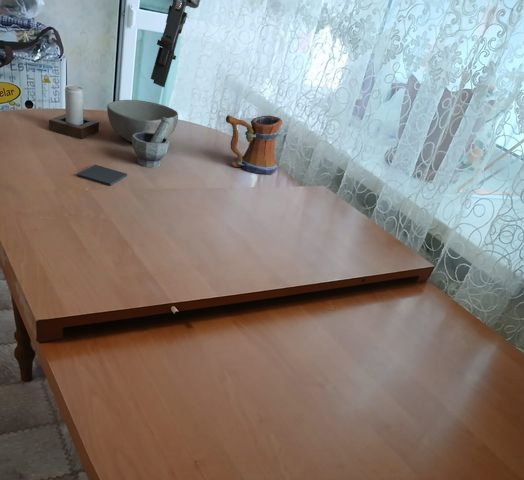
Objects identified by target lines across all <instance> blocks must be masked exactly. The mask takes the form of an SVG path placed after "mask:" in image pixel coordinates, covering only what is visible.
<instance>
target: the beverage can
mask: <svg viewBox="0 0 524 480" xmlns="http://www.w3.org/2000/svg"><path fill="white" fill-rule="evenodd" d="M64 98H65V99H64V103H65V104H64V105H65V107H64V108H65V114H66V122H68V123H71V124H75V125H78V126H79V125H82V124H83V117H84V90H83V87H81V86H79V85H73V84H67V85H65V88H64Z"/></svg>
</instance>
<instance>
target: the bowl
mask: <svg viewBox="0 0 524 480" xmlns="http://www.w3.org/2000/svg"><path fill="white" fill-rule="evenodd" d="M106 110H107V118H108V121H109V124H110V126H111V127H112V129H113V131H114V132H115V133H116V134H118V135H119V136H120V137H122V138H123V139H124V140H126V141H127V142H131V143H132V136H133V135H134V134H135V133H140V132H147V133H155V131H156V130H157V128H158V126H159V124H160V122H161V118H162V117H165V118H167V119H169V120H170V121H171V124H170V125H169V126H168V129H167V131H166V134H165V137H166V138H167V139H169V137H170V136H171V135H172V134H173V133H174V132H175V129H176V128H177V125H178V122H179V121H178V120H179V113H178V111H177V110H175V109H173V108H171V107H169V106H166V105H164V104H160V103H156V102H152V101H148V100H147V101H146V100H139V99H120V100H114V101H112V102H109V103H108V104H107V105H106Z"/></svg>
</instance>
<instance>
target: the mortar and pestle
mask: <svg viewBox="0 0 524 480" xmlns="http://www.w3.org/2000/svg"><path fill="white" fill-rule="evenodd" d="M170 124H171V121H170V120H169V119H167V118H165V117H162V118H161V122H160V124H159V126H158V128H157V130H156V131H155V133H147V132H140V133H135V134H134V135H133V136H132V142H131V143H132V144H131V145H132V149H133V151H134V153H135V154H136V155H137V163H138V164H139V166H143V167H145V168H154V169H155V168H160V166H161V164H162V161H161V160H162V159H163V158H164V157H165V156H166V154H167V152H168V151H169V146H170V139H169V138H166V137H165V134H166V131H167V129H168V126H169V125H170Z"/></svg>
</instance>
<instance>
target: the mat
mask: <svg viewBox="0 0 524 480" xmlns="http://www.w3.org/2000/svg"><path fill="white" fill-rule="evenodd" d="M76 177H77V178H81V179H85V180H88V181H92V182H95V183H99V184H102V185H106V186H109V187H111V186H113V185H114V184H116V183H119V182H120V181H121V180H123V179H125V178H126V177H128V173H126V172H122V171H119V170H116V169H112V168H109V167H105V166H103V165H102V166H101V165H98V164H93V165H91V166H90V167H87V168H86V169H84V170H82V171H79V172H78V173H76Z"/></svg>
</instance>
